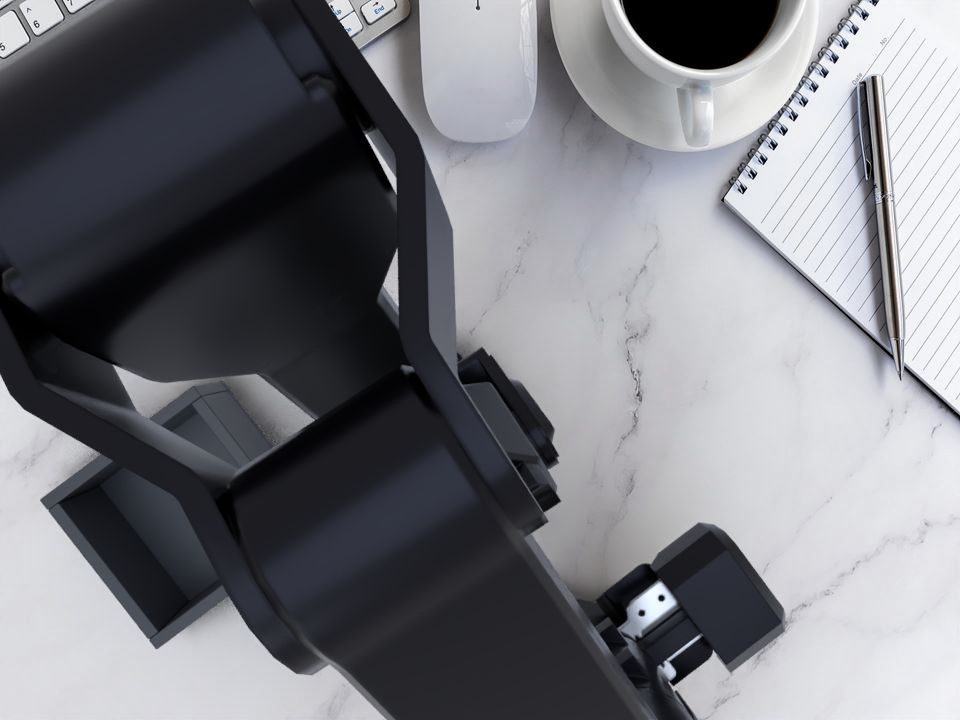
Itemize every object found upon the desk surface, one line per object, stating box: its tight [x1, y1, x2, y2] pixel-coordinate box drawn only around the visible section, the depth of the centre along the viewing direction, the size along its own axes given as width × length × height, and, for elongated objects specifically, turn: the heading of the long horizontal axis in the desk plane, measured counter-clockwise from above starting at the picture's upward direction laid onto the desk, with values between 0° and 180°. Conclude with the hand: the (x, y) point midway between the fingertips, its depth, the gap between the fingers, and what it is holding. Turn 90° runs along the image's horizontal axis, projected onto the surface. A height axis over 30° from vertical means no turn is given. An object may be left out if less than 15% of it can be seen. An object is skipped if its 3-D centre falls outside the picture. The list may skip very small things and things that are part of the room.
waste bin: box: [39, 380, 274, 650], centre depth 48 cm, size 10×10×6 cm
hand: (572, 628), depth 50 cm, fingers closed on ink cartridge, 4 cm apart
